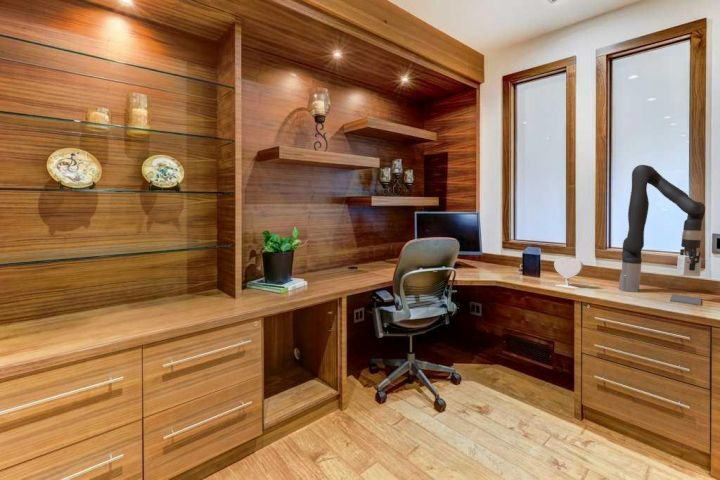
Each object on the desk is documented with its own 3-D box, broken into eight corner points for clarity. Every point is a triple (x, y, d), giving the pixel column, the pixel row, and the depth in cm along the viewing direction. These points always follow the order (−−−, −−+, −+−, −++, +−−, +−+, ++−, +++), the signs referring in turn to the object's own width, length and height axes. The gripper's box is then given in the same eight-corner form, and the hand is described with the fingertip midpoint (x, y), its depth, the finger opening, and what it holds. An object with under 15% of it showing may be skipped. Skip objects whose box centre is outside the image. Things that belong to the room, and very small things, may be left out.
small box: (692, 274, 195) (694, 255, 194) (700, 276, 190) (702, 256, 189) (676, 273, 197) (677, 254, 196) (682, 275, 191) (684, 256, 190)
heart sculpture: (581, 288, 223) (583, 259, 221) (579, 289, 219) (581, 260, 217) (555, 283, 234) (556, 256, 232) (552, 285, 231) (554, 257, 229)
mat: (700, 305, 184) (700, 304, 184) (669, 301, 192) (670, 299, 192) (700, 299, 197) (701, 297, 197) (672, 295, 205) (672, 294, 205)
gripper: (708, 240, 183) (705, 272, 185) (691, 237, 197) (689, 267, 199) (690, 239, 186) (687, 271, 187) (675, 237, 199) (672, 266, 201)
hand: (688, 269), depth 193 cm, fingers closed on small box, 6 cm apart
